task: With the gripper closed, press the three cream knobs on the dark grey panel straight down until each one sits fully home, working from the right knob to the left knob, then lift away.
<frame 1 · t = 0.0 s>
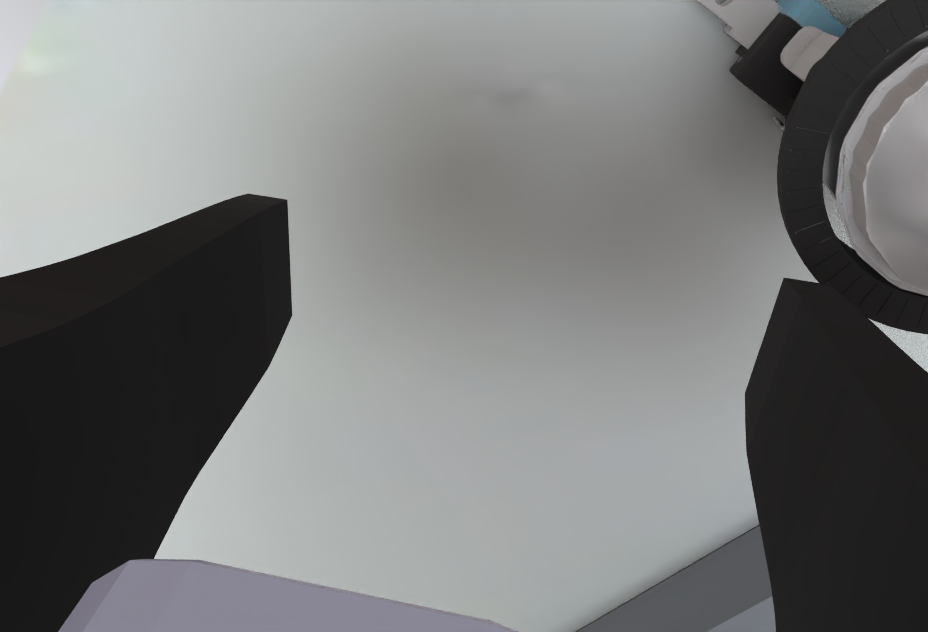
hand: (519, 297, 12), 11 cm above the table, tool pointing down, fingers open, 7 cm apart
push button: (809, 63, 20), on the table
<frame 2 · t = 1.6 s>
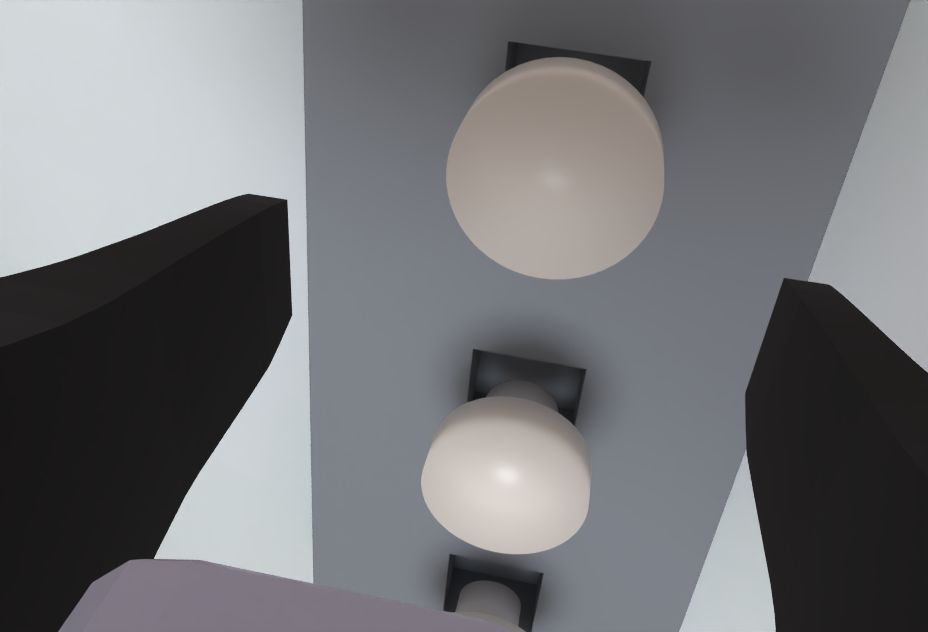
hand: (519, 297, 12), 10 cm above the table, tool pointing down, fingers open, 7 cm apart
knob panel: (534, 341, 25), on the table
knob 1: (560, 152, 17), point 5 cm above the table, slide at 0.0 cm
knob middle: (512, 449, 21), point 5 cm above the table, slide at 0.0 cm
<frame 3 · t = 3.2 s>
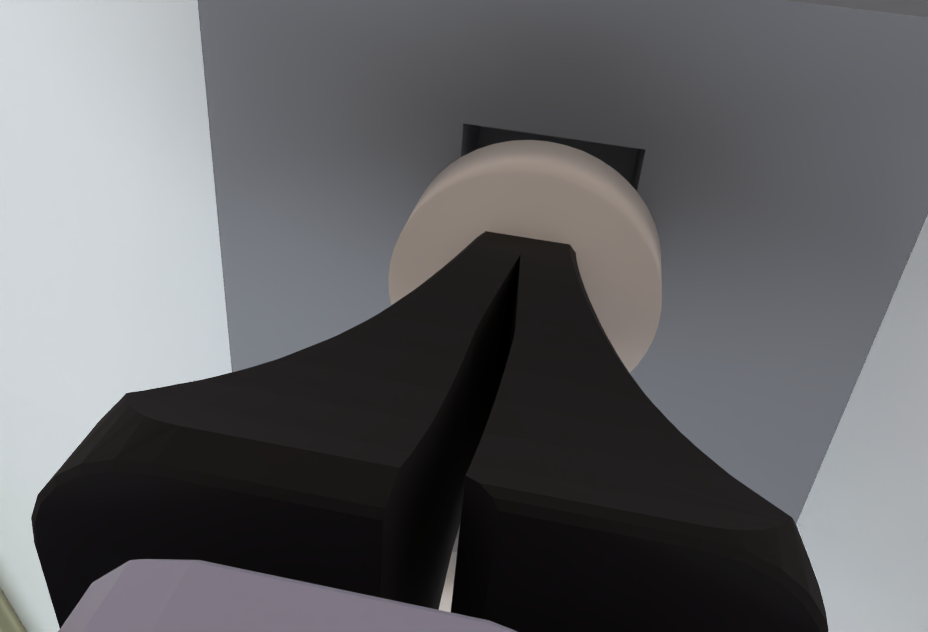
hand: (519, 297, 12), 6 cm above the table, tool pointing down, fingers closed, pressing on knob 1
knob panel: (513, 448, 21), on the table
knob 1: (533, 249, 14), point 4 cm above the table, slide at 0.8 cm, touching gripper
knob middle: (481, 605, 17), point 5 cm above the table, slide at 0.0 cm
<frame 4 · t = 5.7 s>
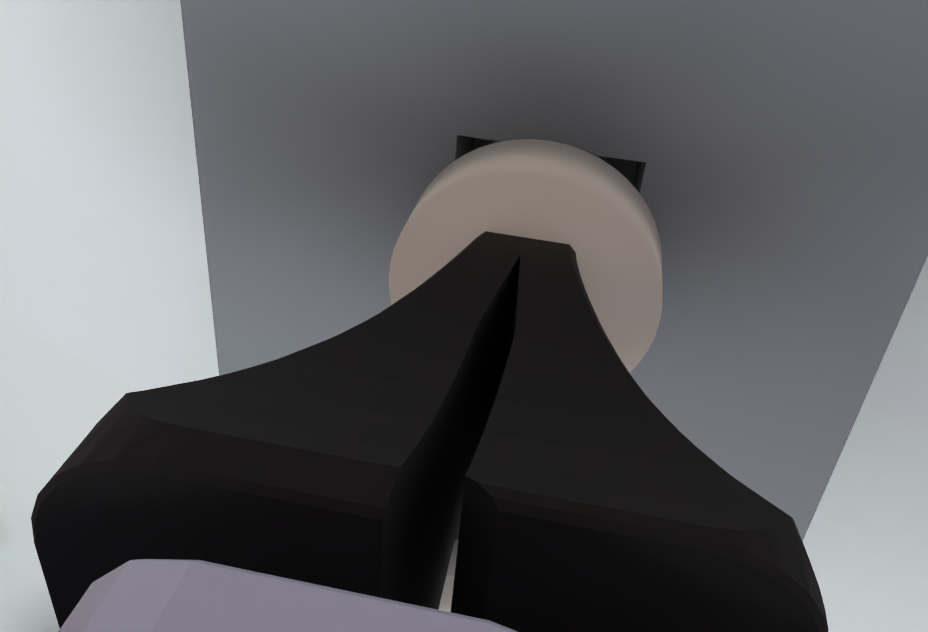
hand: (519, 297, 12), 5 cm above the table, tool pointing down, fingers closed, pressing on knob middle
knob panel: (555, 164, 17), on the table
knob middle: (534, 248, 14), point 4 cm above the table, slide at 1.4 cm, touching gripper
knob 2: (477, 628, 17), point 5 cm above the table, slide at 0.0 cm
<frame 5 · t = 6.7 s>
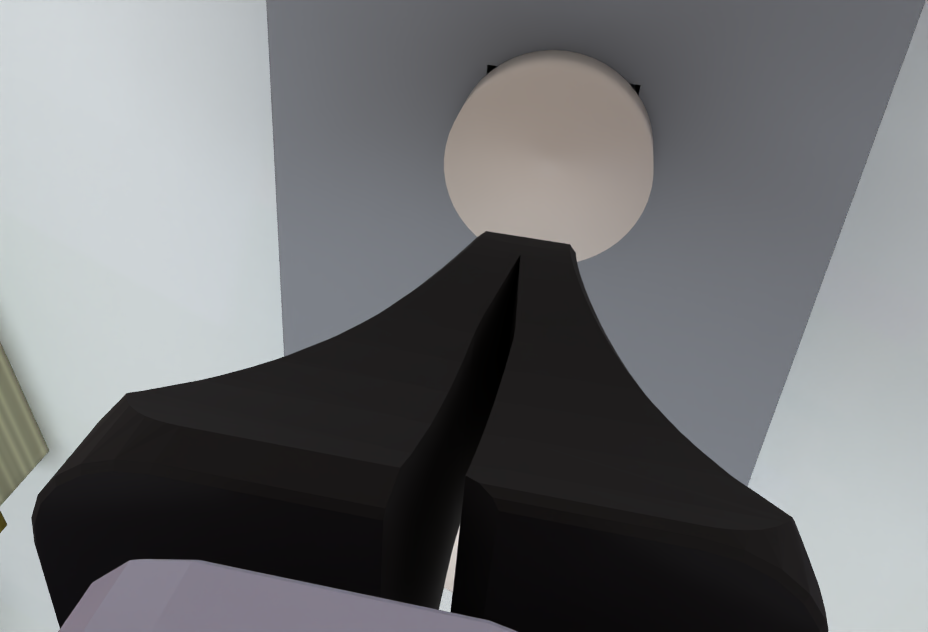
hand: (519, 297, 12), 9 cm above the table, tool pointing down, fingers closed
knob panel: (564, 100, 20), on the table
knob middle: (554, 142, 17), point 3 cm above the table, slide at 2.2 cm
knob 2: (499, 492, 20), point 5 cm above the table, slide at 0.0 cm
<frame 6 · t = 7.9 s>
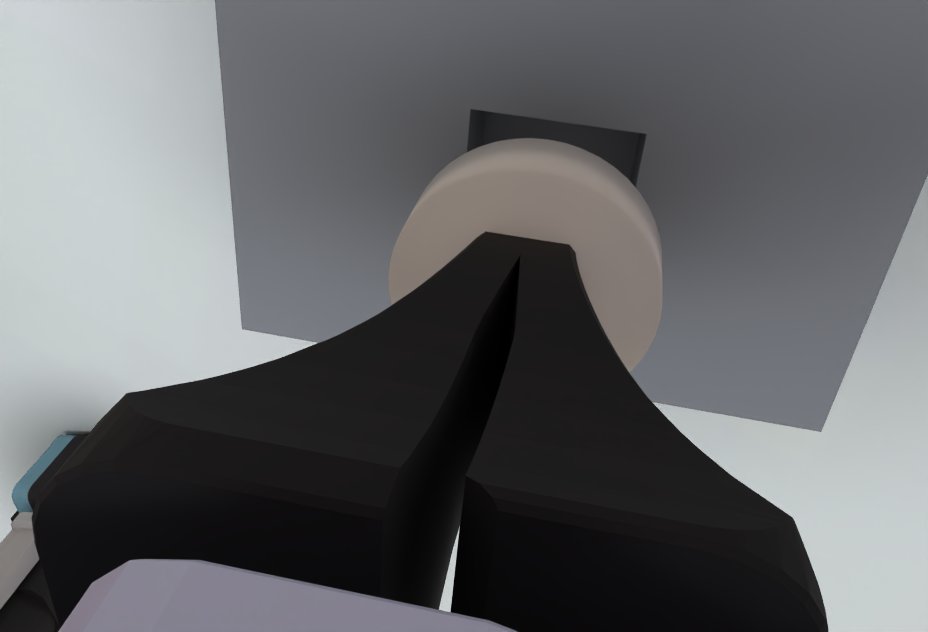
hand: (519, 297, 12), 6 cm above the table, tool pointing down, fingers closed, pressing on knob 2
knob 2: (534, 247, 14), point 5 cm above the table, slide at 0.1 cm, touching gripper
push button: (125, 500, 27), on the table
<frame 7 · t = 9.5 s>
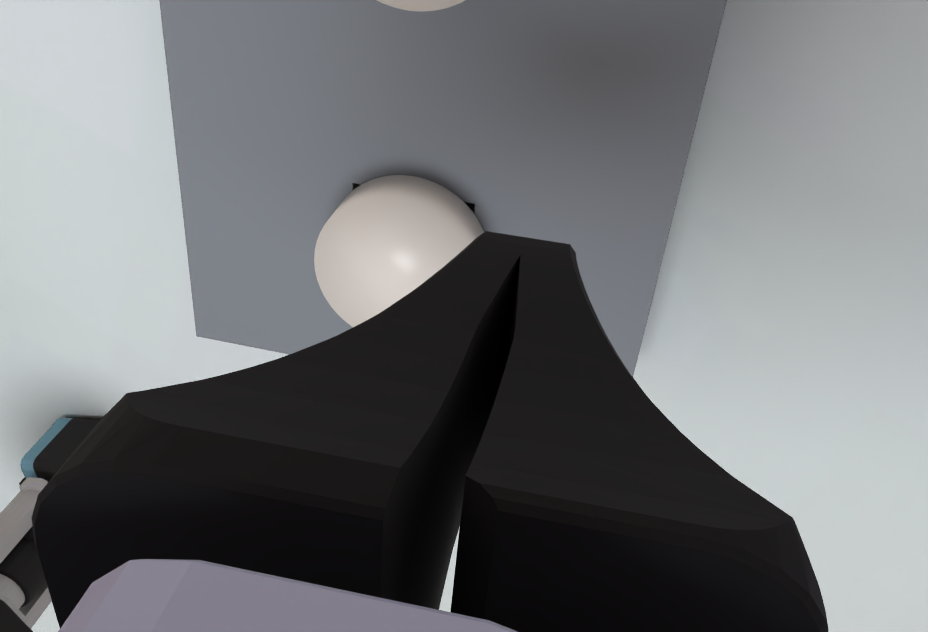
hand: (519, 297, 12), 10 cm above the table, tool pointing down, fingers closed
knob 2: (412, 243, 21), point 3 cm above the table, slide at 2.2 cm
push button: (112, 472, 33), on the table
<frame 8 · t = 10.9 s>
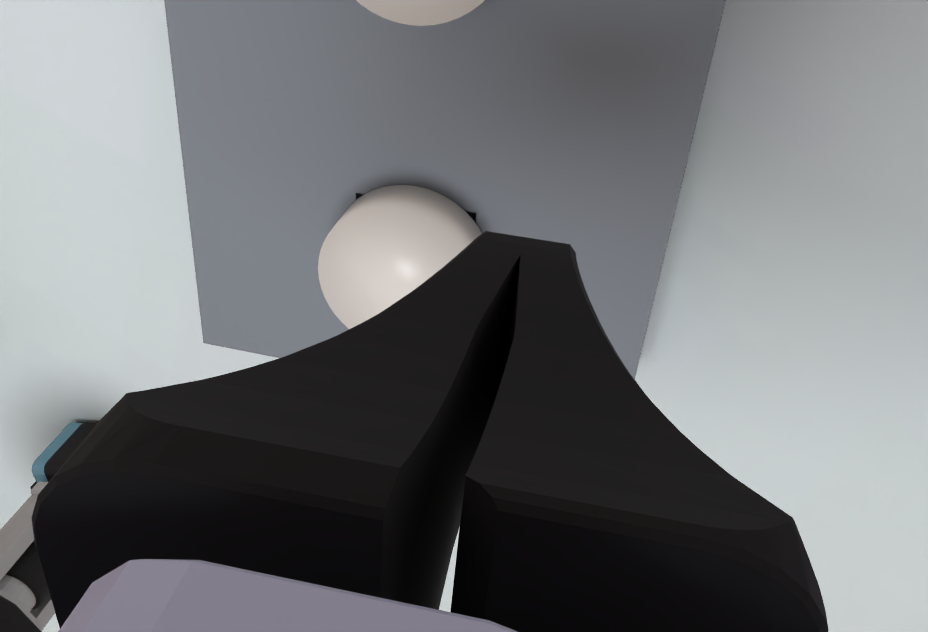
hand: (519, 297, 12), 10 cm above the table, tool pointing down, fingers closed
knob 2: (415, 252, 21), point 3 cm above the table, slide at 2.2 cm
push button: (122, 476, 33), on the table
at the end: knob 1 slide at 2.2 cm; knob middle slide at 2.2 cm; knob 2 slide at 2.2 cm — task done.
